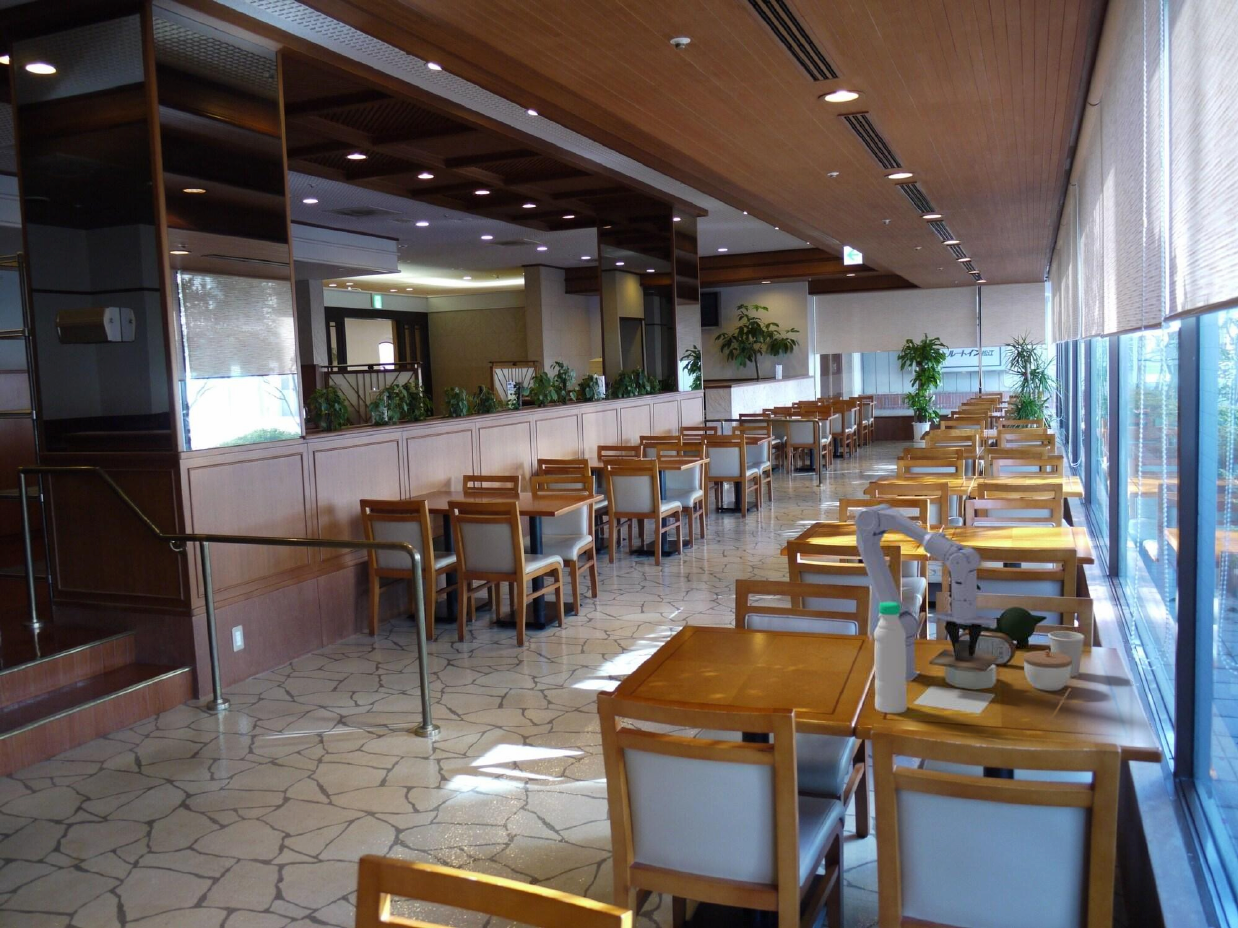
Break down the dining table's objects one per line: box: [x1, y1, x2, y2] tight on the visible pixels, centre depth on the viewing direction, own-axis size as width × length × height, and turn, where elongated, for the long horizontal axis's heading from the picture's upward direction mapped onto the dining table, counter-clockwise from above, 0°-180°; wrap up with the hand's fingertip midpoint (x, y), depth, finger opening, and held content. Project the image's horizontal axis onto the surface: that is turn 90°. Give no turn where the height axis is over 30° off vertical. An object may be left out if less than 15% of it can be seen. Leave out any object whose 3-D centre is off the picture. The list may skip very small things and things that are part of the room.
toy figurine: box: [948, 583, 1048, 648], centre depth 276 cm, size 9×19×25 cm
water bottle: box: [873, 602, 908, 714], centre depth 226 cm, size 7×7×25 cm
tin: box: [959, 630, 1017, 667], centre depth 260 cm, size 15×3×8 cm, turn 58°
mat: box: [912, 685, 996, 715], centre depth 232 cm, size 15×15×1 cm
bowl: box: [944, 665, 997, 690], centre depth 244 cm, size 11×11×4 cm
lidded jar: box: [1022, 649, 1072, 692], centre depth 238 cm, size 11×11×9 cm
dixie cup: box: [1047, 630, 1085, 678], centre depth 249 cm, size 8×8×10 cm
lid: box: [928, 639, 999, 672], centre depth 239 cm, size 13×13×5 cm
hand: (964, 653), depth 239 cm, fingers closed on lid, 3 cm apart
